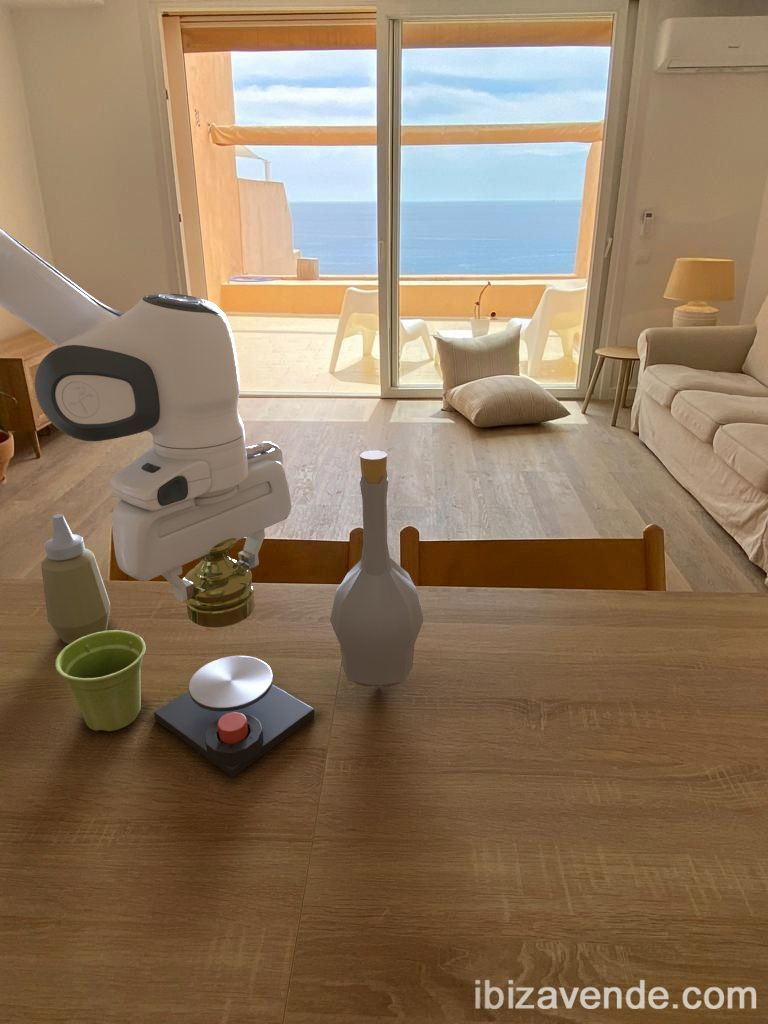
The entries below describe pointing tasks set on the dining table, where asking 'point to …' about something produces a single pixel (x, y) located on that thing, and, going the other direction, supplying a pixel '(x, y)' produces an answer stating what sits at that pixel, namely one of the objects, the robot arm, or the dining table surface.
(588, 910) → the dining table surface
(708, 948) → the dining table surface
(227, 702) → the weighing pan
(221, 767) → the scale
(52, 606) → the squeeze bottle
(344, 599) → the bottle
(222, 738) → the tare button
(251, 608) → the gold ribbed tiered piece
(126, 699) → the plant pot
